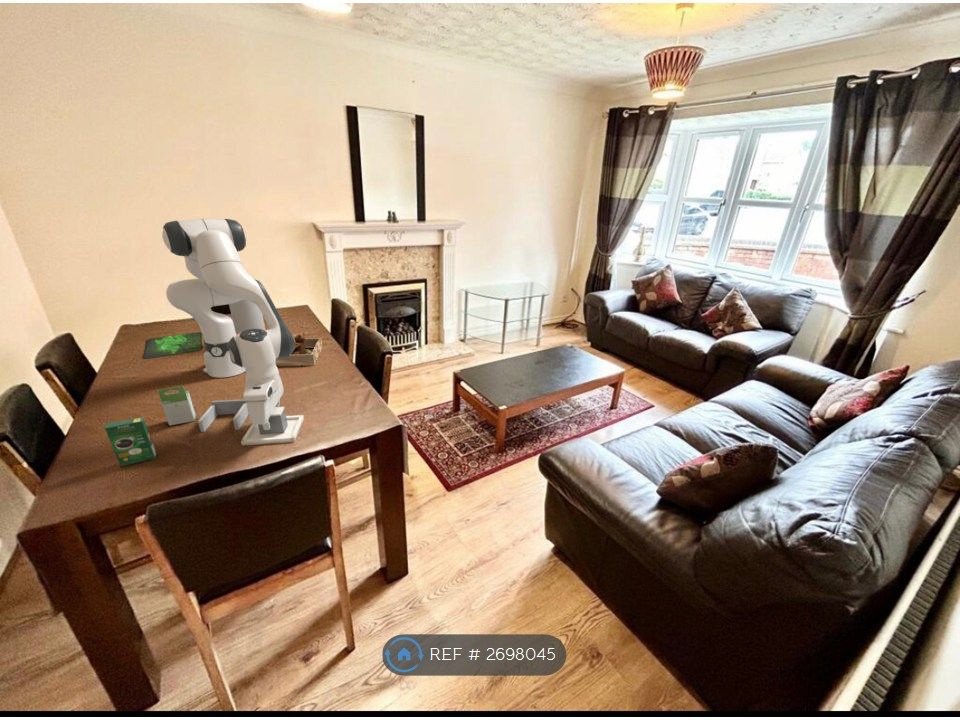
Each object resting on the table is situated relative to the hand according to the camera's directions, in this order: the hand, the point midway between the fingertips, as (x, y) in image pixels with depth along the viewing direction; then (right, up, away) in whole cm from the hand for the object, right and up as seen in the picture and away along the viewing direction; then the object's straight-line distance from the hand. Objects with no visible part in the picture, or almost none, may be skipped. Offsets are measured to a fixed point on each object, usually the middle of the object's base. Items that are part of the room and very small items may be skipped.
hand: (272, 420), depth 122 cm
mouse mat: (-79, +26, +60) cm, 103 cm away
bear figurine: (-18, +20, +53) cm, 59 cm away
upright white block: (0, -3, +2) cm, 4 cm away
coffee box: (-31, -10, -13) cm, 35 cm away
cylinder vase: (-45, +27, +66) cm, 84 cm away
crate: (-18, +21, +54) cm, 61 cm away
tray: (0, -4, +2) cm, 4 cm away
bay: (-18, -1, +6) cm, 19 cm away
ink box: (-32, -1, +5) cm, 33 cm away
